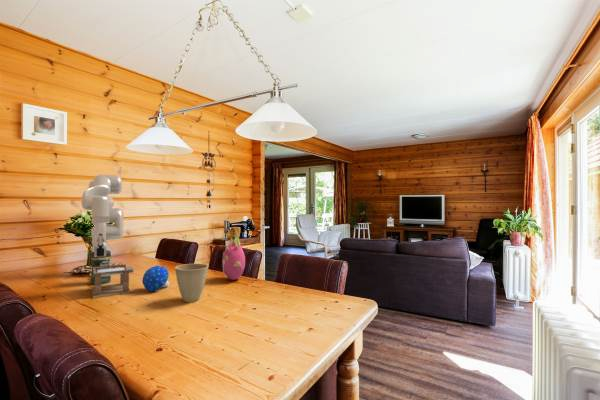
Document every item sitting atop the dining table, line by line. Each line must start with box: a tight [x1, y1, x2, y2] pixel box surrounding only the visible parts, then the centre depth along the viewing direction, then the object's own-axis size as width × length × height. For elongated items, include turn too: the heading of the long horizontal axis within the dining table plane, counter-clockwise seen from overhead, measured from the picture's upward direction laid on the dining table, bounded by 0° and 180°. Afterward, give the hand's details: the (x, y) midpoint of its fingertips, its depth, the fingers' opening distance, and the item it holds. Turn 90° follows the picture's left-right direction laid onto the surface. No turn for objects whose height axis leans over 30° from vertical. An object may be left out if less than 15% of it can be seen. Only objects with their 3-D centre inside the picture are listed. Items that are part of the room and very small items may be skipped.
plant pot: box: [175, 263, 209, 303], centre depth 147 cm, size 15×15×16 cm
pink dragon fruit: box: [221, 229, 246, 281], centre depth 184 cm, size 18×14×30 cm
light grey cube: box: [94, 245, 106, 257], centre depth 158 cm, size 5×5×5 cm
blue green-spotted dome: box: [141, 265, 170, 292], centre depth 163 cm, size 14×14×15 cm
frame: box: [92, 263, 131, 299], centre depth 160 cm, size 20×16×12 cm
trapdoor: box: [97, 266, 134, 276], centre depth 161 cm, size 12×16×2 cm
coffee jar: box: [89, 250, 112, 286], centre depth 175 cm, size 10×8×19 cm
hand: (100, 254), depth 158 cm, fingers closed on light grey cube, 5 cm apart
